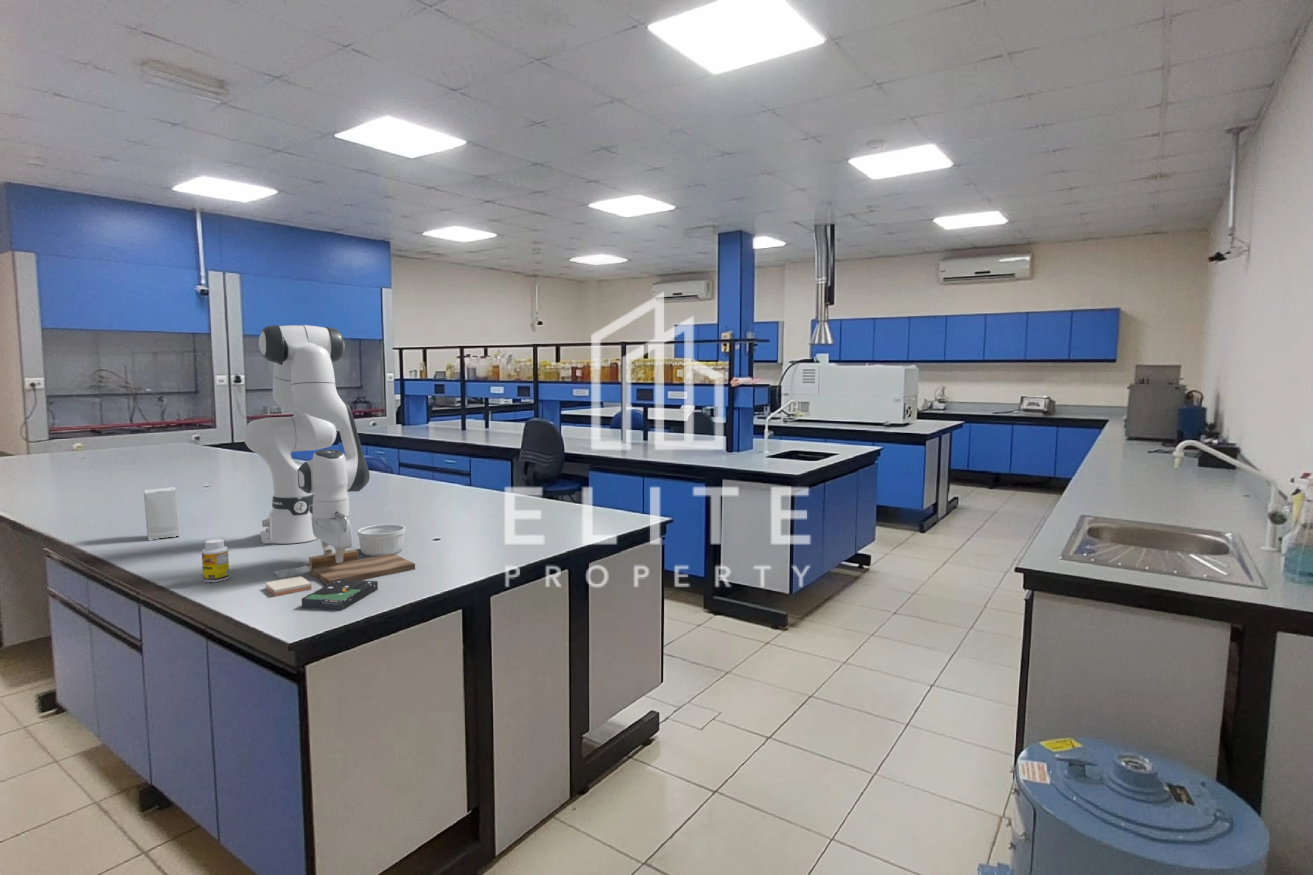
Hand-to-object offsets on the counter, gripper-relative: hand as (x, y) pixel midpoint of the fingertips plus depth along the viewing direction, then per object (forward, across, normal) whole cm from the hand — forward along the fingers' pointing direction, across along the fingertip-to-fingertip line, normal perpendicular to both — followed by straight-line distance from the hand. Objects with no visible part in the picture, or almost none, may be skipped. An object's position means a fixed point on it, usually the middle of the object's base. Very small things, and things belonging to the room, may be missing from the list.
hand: (333, 558), depth 182 cm
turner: (+2, 0, +4) cm, 4 cm away
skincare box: (+2, +69, +28) cm, 75 cm away
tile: (+2, -9, +15) cm, 17 cm away
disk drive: (+3, -28, +8) cm, 30 cm away
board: (+2, -11, -4) cm, 12 cm away
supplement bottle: (+2, +7, +26) cm, 27 cm away
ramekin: (+2, +6, -16) cm, 17 cm away
